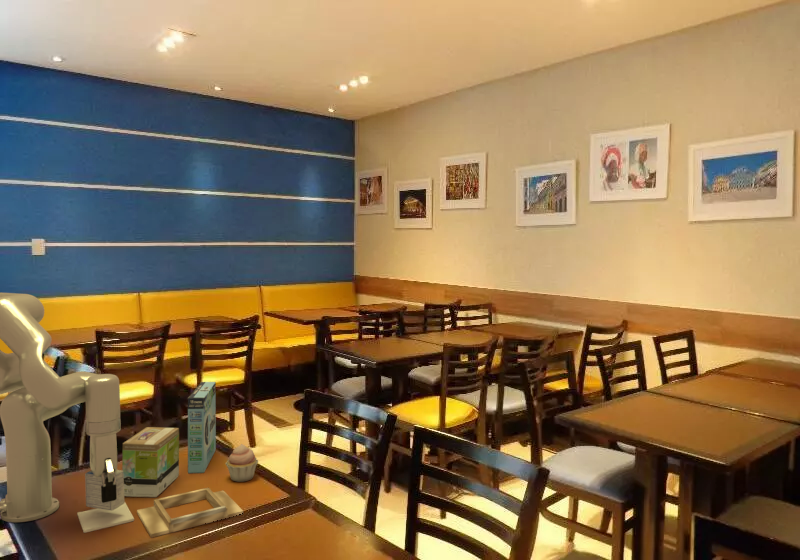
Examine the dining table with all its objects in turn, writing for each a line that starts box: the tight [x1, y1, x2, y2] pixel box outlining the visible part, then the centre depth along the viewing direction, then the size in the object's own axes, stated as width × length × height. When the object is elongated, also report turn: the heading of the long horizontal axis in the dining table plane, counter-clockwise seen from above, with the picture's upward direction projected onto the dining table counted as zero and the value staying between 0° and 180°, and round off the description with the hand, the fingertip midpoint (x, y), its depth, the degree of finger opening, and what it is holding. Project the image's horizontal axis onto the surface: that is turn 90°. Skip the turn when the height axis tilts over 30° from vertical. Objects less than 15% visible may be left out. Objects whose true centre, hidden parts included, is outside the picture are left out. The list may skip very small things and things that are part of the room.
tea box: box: [121, 426, 180, 498], centre depth 168 cm, size 15×10×15 cm, turn 179°
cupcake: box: [225, 443, 259, 483], centre depth 175 cm, size 9×9×10 cm
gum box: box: [187, 381, 217, 474], centre depth 187 cm, size 20×5×23 cm, turn 7°
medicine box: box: [84, 469, 125, 511], centre depth 149 cm, size 8×4×9 cm, turn 73°
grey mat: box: [77, 501, 135, 534], centre depth 149 cm, size 11×11×1 cm
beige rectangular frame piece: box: [136, 487, 244, 539], centre depth 152 cm, size 22×15×3 cm
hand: (105, 494), depth 149 cm, fingers closed on medicine box, 9 cm apart
